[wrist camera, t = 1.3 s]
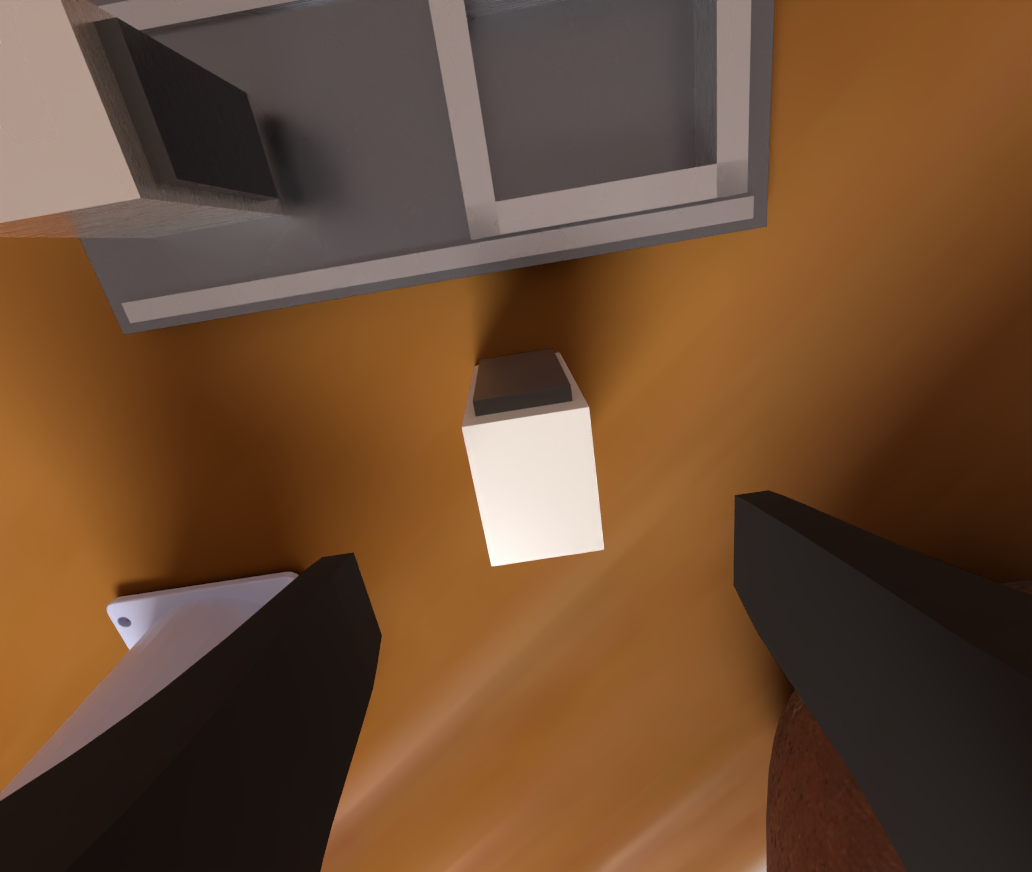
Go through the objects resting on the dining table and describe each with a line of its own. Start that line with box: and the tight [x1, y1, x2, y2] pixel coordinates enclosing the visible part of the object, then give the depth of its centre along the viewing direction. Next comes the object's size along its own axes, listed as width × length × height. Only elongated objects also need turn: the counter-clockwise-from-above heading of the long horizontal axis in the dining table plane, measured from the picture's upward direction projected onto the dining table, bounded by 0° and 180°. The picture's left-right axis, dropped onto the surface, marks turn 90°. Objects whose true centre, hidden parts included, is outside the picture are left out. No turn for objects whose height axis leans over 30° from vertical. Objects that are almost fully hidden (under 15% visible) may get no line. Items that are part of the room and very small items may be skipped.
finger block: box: [462, 348, 604, 566], centre depth 15 cm, size 3×4×6 cm
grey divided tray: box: [0, 0, 774, 334], centre depth 11 cm, size 8×20×7 cm, turn 99°
